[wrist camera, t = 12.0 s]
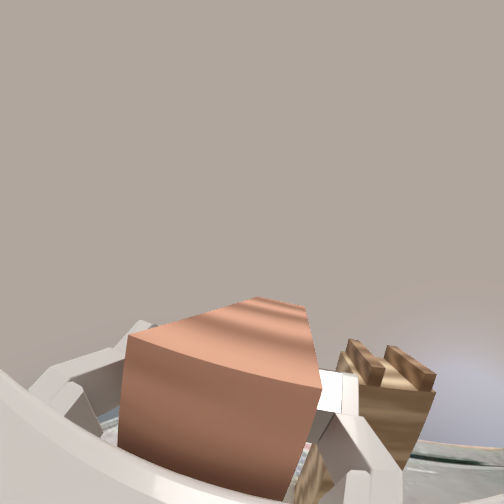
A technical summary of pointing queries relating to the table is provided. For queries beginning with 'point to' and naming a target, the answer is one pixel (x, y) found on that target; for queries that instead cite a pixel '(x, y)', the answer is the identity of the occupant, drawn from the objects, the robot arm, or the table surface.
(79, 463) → the robot arm
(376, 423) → the chute stand
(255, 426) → the bar
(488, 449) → the table surface
